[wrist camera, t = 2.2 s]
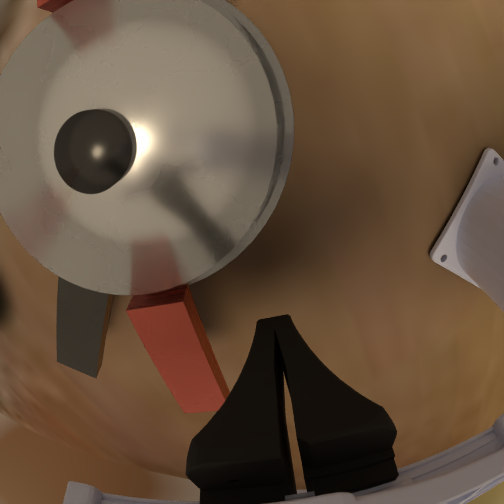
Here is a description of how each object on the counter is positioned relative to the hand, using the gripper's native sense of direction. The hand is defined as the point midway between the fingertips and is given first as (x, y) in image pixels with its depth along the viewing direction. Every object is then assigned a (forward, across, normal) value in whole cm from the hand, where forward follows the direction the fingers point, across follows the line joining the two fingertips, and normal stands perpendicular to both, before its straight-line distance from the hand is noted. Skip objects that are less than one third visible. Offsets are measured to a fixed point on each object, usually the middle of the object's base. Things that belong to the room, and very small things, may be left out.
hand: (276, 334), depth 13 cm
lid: (0, +4, -7) cm, 9 cm away
